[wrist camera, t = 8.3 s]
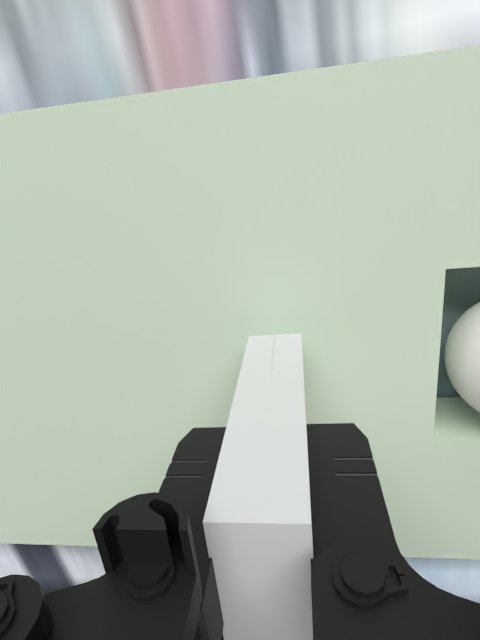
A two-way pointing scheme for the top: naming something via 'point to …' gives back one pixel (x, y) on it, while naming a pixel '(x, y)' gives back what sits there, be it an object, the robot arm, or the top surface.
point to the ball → (465, 356)
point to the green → (238, 282)
